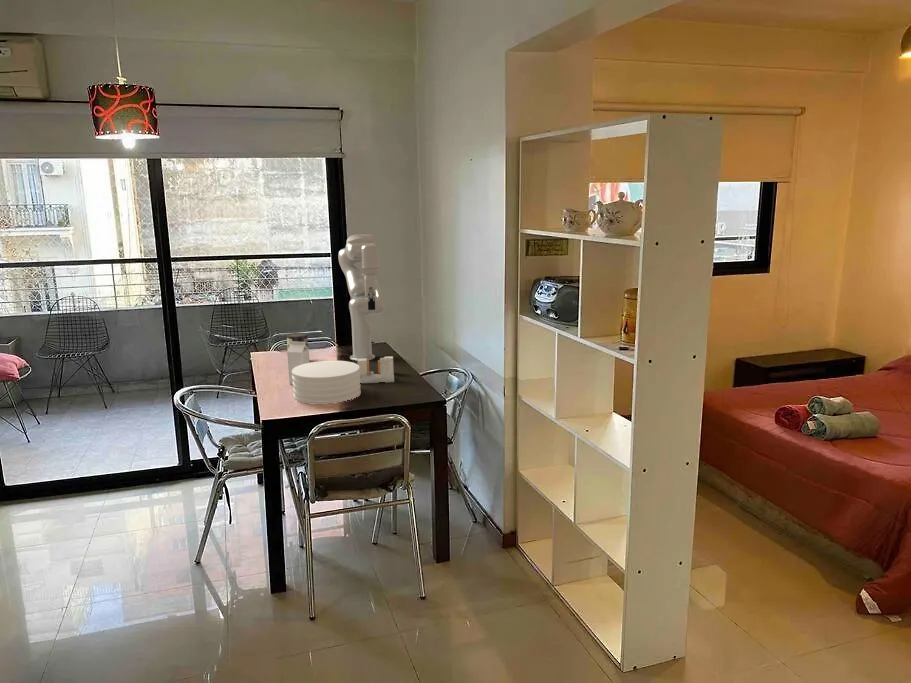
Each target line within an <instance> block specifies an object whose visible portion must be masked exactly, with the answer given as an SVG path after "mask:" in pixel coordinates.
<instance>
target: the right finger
mask: <svg viewBox="0 0 911 683" xmlns="http://www.w3.org/2000/svg"><path fill="white" fill-rule="evenodd" d="M356 362H357V364H358V365H359V366H360V371H359V372H360V376H364V375H367V373H369V372H370V360H367V358H363V359H358V360H357V361H356Z"/></svg>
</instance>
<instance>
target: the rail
mask: <svg viewBox="0 0 911 683" xmlns="http://www.w3.org/2000/svg"><path fill="white" fill-rule="evenodd" d="M377 370H378V371H377V372H378V373H374V371H373V370H372V371H370V370H369V373H367V375H364V376H360V383H361V384H377V383H379V382H385V383H394V382H395V374H394V373H392V374H389V358H384V357H379V359H378V360H377ZM379 384H380V383H379Z"/></svg>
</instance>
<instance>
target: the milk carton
mask: <svg viewBox="0 0 911 683" xmlns="http://www.w3.org/2000/svg"><path fill="white" fill-rule="evenodd" d="M306 363H311V361H310V349H309V346H308V347H307V346H306V344H305V342H295V341H290V346H289V349H288V348H287V366H288V382H289V385H292V386H293V380H292V376H293V375H292V369H293V368H295V367H297V366H299V365H302V364H306Z"/></svg>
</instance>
